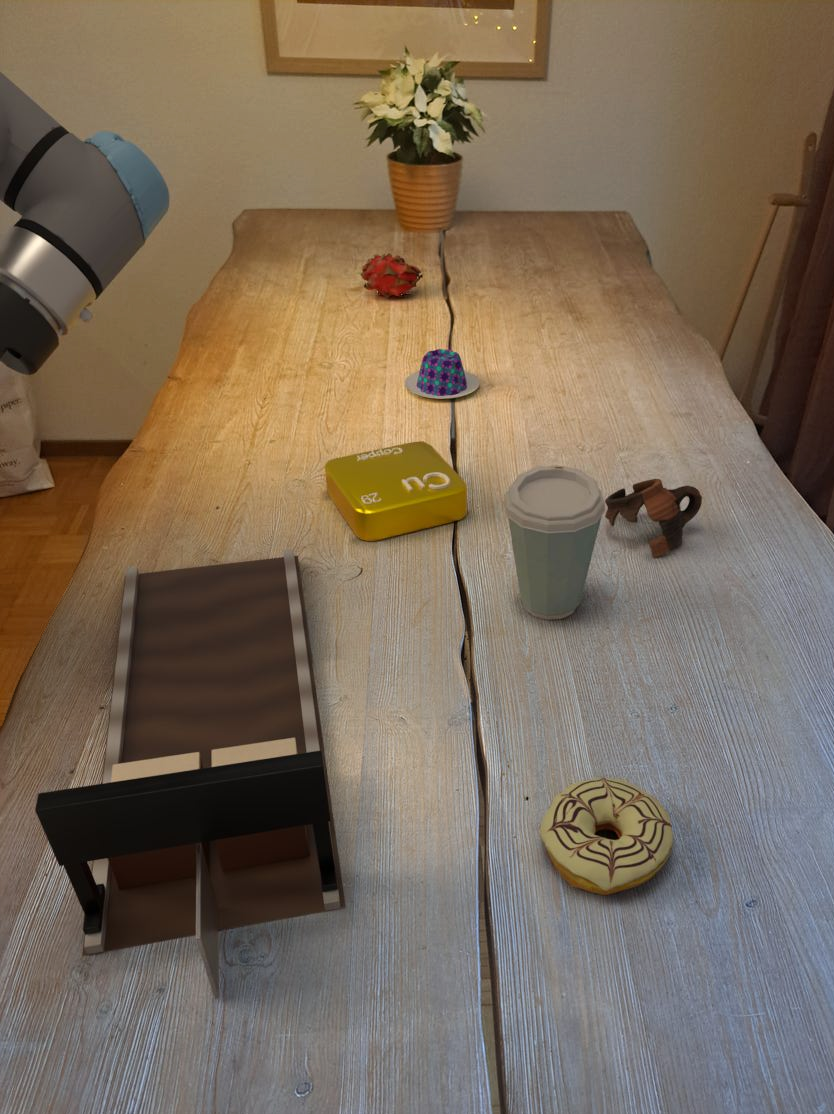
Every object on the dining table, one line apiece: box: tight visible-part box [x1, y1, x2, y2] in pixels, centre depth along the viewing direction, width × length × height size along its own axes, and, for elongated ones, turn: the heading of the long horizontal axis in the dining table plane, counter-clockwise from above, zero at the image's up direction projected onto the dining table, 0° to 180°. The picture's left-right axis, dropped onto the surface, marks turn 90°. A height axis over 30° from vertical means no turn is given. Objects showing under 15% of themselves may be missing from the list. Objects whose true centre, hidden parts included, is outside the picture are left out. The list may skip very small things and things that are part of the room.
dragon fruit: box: [360, 252, 423, 299], centre depth 181 cm, size 8×8×12 cm
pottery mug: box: [604, 478, 703, 558], centre depth 116 cm, size 12×10×8 cm
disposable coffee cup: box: [502, 465, 606, 621], centre depth 101 cm, size 11×11×15 cm
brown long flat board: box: [81, 548, 346, 957], centre depth 90 cm, size 50×20×2 cm, turn 13°
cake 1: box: [107, 752, 210, 889], centre depth 77 cm, size 9×7×5 cm
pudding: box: [404, 348, 481, 400], centre depth 149 cm, size 12×12×5 cm
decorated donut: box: [539, 777, 674, 896], centre depth 78 cm, size 10×11×4 cm
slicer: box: [34, 750, 338, 1000], centre depth 67 cm, size 11×19×14 cm, turn 103°
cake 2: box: [212, 738, 310, 871], centre depth 78 cm, size 9×7×5 cm
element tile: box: [324, 440, 468, 542], centre depth 121 cm, size 15×15×5 cm
